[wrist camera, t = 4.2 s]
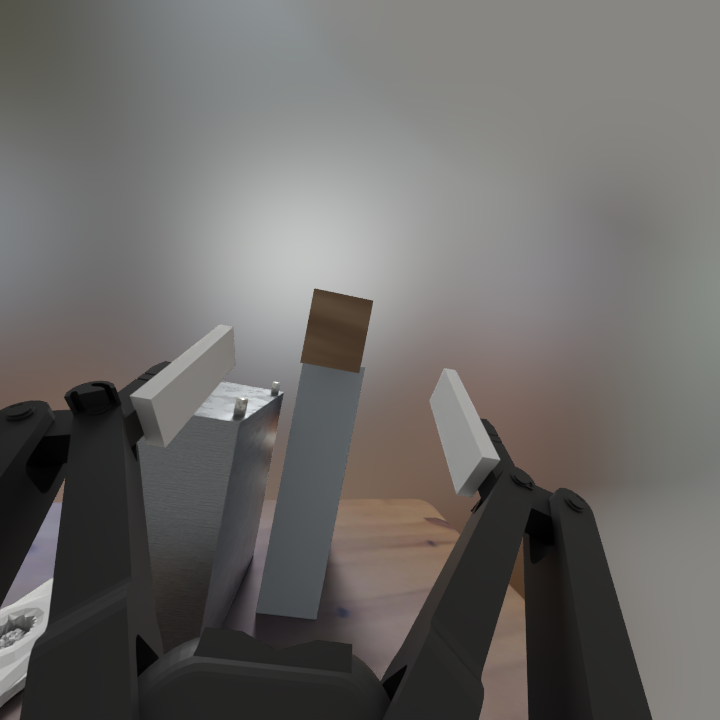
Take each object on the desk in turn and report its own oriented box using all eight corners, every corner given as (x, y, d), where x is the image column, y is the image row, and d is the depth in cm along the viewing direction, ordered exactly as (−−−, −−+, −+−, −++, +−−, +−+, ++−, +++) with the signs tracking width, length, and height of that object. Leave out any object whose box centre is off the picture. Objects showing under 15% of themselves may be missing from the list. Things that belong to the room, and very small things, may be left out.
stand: (255, 612, 29) (304, 355, 29) (283, 529, 43) (316, 354, 43) (316, 619, 30) (364, 367, 29) (324, 534, 44) (357, 362, 43)
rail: (359, 373, 17) (373, 300, 17) (300, 362, 17) (314, 288, 17) (348, 360, 45) (353, 332, 45) (326, 356, 45) (331, 328, 45)
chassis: (57, 695, 20) (113, 382, 20) (182, 545, 36) (214, 369, 36) (186, 706, 21) (242, 404, 21) (253, 554, 37) (285, 382, 37)
